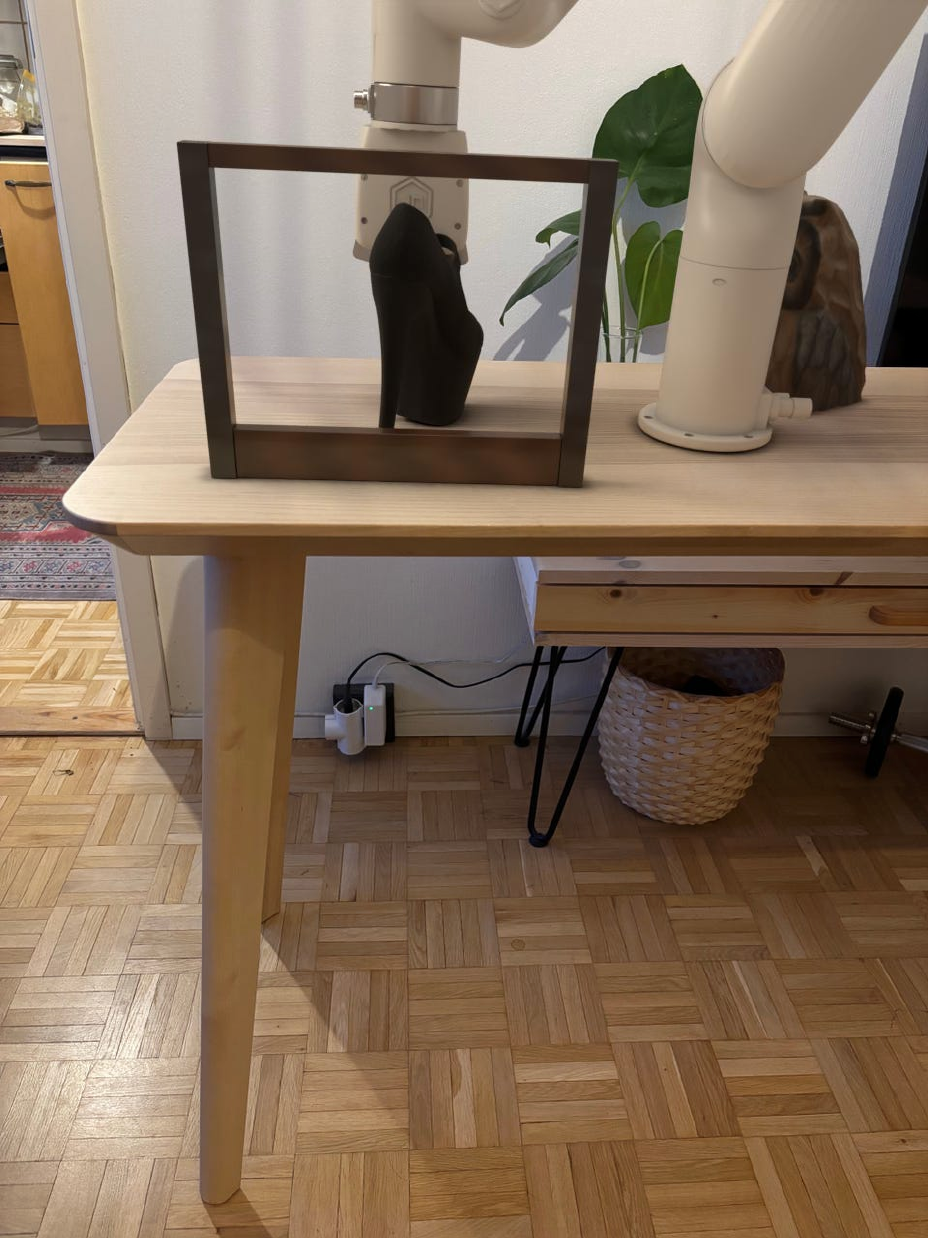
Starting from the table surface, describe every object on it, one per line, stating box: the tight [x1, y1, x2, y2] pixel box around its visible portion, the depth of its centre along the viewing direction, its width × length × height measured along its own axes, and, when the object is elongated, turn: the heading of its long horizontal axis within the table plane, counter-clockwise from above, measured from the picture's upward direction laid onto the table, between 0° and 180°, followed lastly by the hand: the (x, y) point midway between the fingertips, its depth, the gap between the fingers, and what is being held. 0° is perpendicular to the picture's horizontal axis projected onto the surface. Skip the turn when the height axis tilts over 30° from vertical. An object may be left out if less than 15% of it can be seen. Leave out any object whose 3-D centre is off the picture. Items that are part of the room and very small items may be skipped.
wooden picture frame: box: [176, 139, 620, 488], centre depth 69 cm, size 30×2×24 cm, turn 92°
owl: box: [764, 189, 868, 413], centre depth 96 cm, size 13×13×20 cm
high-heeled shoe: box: [368, 203, 485, 428], centre depth 82 cm, size 8×19×20 cm, turn 158°
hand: (408, 326), depth 89 cm, fingers closed
